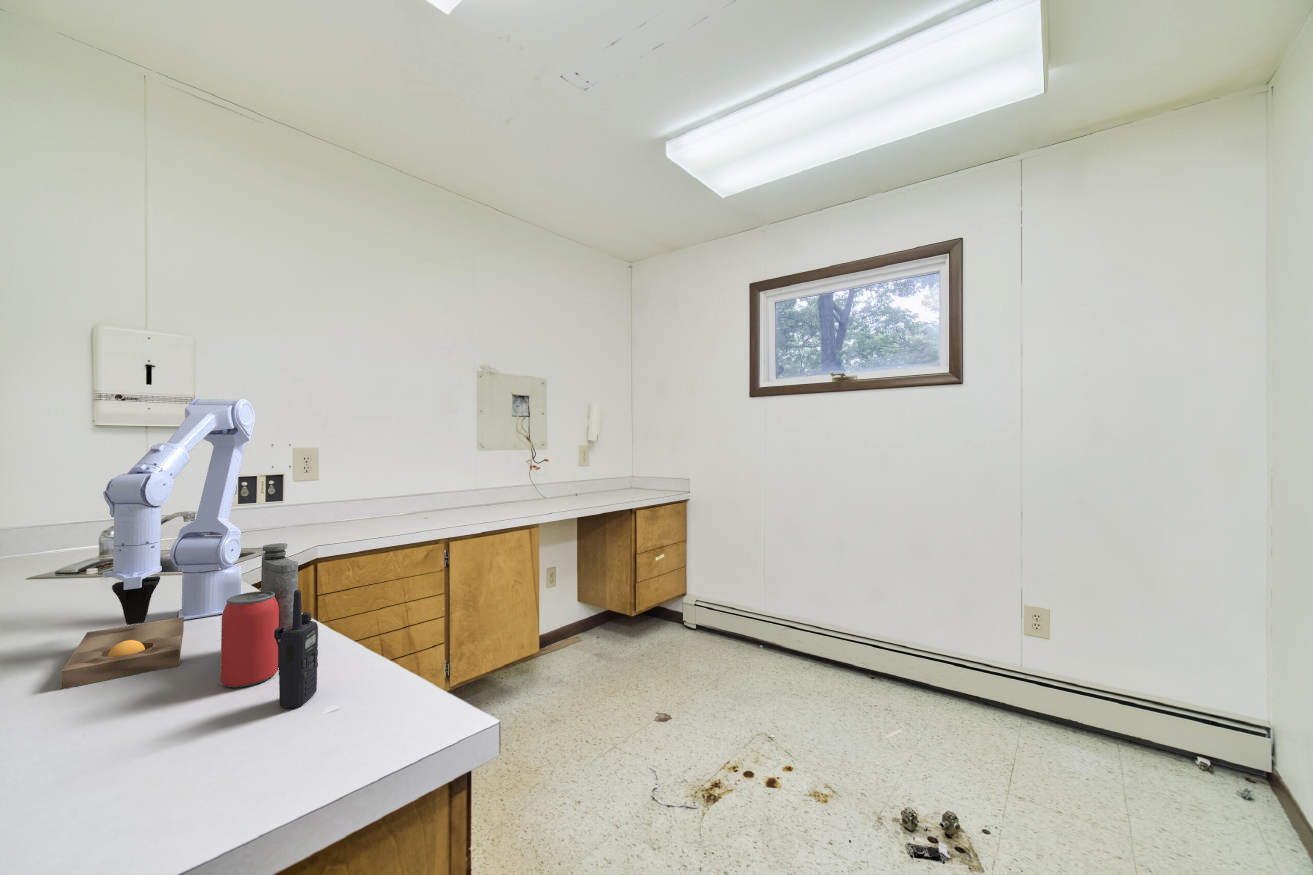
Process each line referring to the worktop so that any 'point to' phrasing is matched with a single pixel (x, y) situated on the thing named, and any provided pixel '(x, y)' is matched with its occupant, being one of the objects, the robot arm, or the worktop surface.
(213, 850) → the worktop surface
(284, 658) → the two-way radio
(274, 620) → the beer can
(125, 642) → the ball
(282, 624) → the flask
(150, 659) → the hole board
